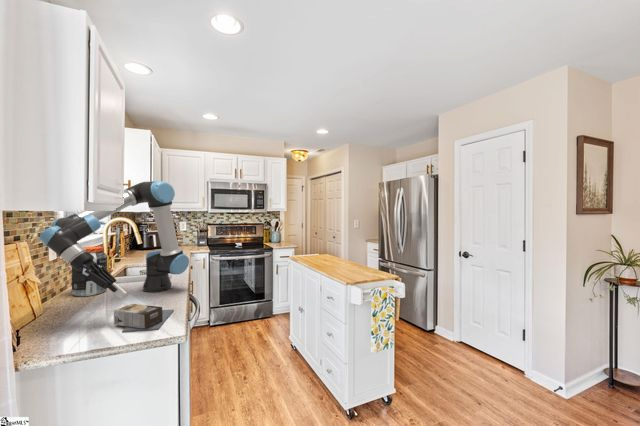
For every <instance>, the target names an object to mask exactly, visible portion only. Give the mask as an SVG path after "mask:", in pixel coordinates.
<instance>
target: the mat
mask: <svg viewBox="0 0 640 426" xmlns="http://www.w3.org/2000/svg"><path fill="white" fill-rule="evenodd" d="M174 311H175V310H174V308H173V309H162V312H163V321H162V322H160V323H158V324H155V325H153V326H151V327H149V328H147V329H142V328H135V327H128V326H125V327H124V329H122V330H121V332H122V333H133V332H146V331H158V330H160V328H162V326H163V325H164V323H165V322H166V321H167V320H168V319H169V317H170V316H171V315H172V313H174Z"/></svg>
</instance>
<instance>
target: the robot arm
mask: <svg viewBox="0 0 640 426" xmlns="http://www.w3.org/2000/svg"><path fill="white" fill-rule="evenodd" d="M123 190H124V193H123V197H124V198H123V199H124V204H123V205H121V206H120V207H118V208H116V210H114V211H82V210H80V211H81V212H80V211H78V212H75V213H73V214H70V215H68V216H66V217H59V218H56V219H54V220H53V221H52V222H51V226H50V227H48V228H46V229H44V230H43V231H42V232H41V233H40V234H39V240H40V241H41V242H42V243H43V244H45V246H46V247H48V248H49V249H50V250H52V251H53V252H54V253H55V254H56V255H57V256H59V257H60V258H62V261H64V262H66V263H67V264H69V266H70V267H71V268H72V267H73V268H74V269H76V270H80V269H81V270H82V271H83V273H82V274H81V275H82V276H84V277H86V278H88V279H89V280H91V281H93V282H94V283H96V284H97V285H99V286H100V287H102V288H104V289H107V290H109V291H110V292H112V293H113V294H114V295H116V296H117V297H118V298H119V299H121V298H122V297H124V296H125V295H126V294H127V291H125V290H124V289H123V288H122V287H121V286H120V285H118V284H117V283H116V282H117V279H116V278H115V277H114V276H113V274H111V273H110V271H109V270H108V268H107V269H106V268H105V267H104V265H103V264H101V265H98V264H97V263H95V262H94V261H93V259H94V256H93V255H91V254H90V253H89V252H86V249H84V248H83V247H84V246H82V245H81V244H79V241H81V240H83V239H84V238H86V237H87V236H90V235H91V234H93V233H95V232H96V231H98V230H99V229H100V228H101V225H102V224H101V222H100V221H101V220H103V219H104V218H107V217H109V216H112V215H113V214H115V213H117V212H120V211H122V210H124V209H126V208H128V207H130V206H131V207H134V206H136V205H139V204H145V203H147V205H148V209H150V210H152V213H153V217H154V221H155V224H156V230H157V235H158V237H159V243H160V247H161V250H160V249H159V250H154V251H148V252H147V253H146V257H145V266H146V267H145V268H146V270H145V272H146V273H145V274H146V277H145V280H144V283H143V285H142V291H143V292H146V293H157V292H163V291H167V290H171V288H172V281H171V278H170V276H169V275H170V274H171V275H181V274H183V273H185V272H186V270H187V269H188V267H189V265H190V259H189V256H188V255H186V254H184V252H183V251H184V250H183V248H182V247H180V246H179V243H178V242H179V241H178V237H177V232H176V229H175V223H174V220H173V215H172V210H171V207H172V205H173V200H174V198H175V196H176V195H175V194H176V193H175V189H174V188H173V185H171V184H170V183H169V182H167V181H162V180H155V181H154V180H153V181H152V180H151V181H142V182H139V183H136V184H134V185H132V186H129V187H128V188H125V189H123Z"/></svg>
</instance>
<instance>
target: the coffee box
mask: <svg viewBox="0 0 640 426" xmlns="http://www.w3.org/2000/svg"><path fill="white" fill-rule="evenodd" d="M162 310H163V307H162V306H156V305H147V304H140V303H139V304H138V303H130V304H127V305H126V306H125V305H124V306H122V307H120V308H119V307H118V308H117V309H114V310H113V325H115V326H121V327H127V326H128V327H135V328H142V329H147V328H149V327H151V326H153V325H155V324H158V323H160V322H162V321H163V312H162Z"/></svg>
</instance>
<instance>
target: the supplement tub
mask: <svg viewBox="0 0 640 426" xmlns="http://www.w3.org/2000/svg"><path fill="white" fill-rule="evenodd" d="M82 247H83V248H84V249H86V252H89V253H90V254H91V255H93V256H94V259H93V261H94V262H95V263H97V264H98V265H101V264H103V265H104V267H105V268H106V269H107V270H108V255H107V254H106V253H105V252H104V251H105V249H104V246H100V245H99V246H98V245H97V246H95V245H94V246H82ZM82 273H83V271H82V270H81V269H80V270H76V269H74V268H73V267H72V266H71V294H72V295H73V296H75V297H88V296H89V297H90V296H95V295H99V294H102V293H105V292H106V291H107V290H108V288H107V289H104V288H102V287H100V286H99V285H97V284H96V283H94V282H93V281H91V280H89V279H88V278H86V277H84V276H82V275H81V274H82Z"/></svg>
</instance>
